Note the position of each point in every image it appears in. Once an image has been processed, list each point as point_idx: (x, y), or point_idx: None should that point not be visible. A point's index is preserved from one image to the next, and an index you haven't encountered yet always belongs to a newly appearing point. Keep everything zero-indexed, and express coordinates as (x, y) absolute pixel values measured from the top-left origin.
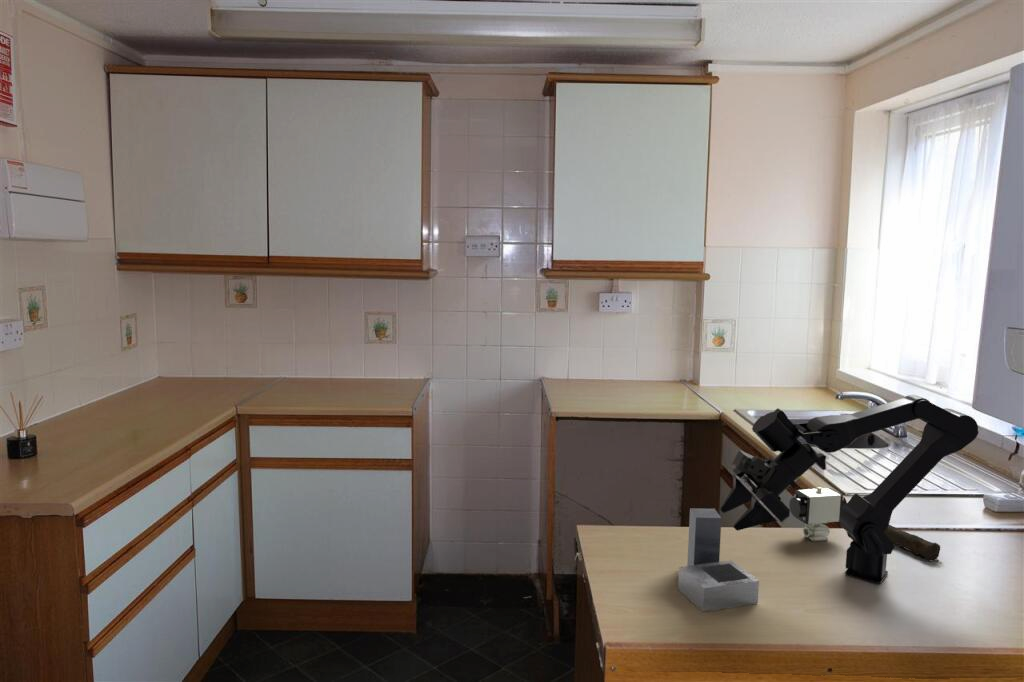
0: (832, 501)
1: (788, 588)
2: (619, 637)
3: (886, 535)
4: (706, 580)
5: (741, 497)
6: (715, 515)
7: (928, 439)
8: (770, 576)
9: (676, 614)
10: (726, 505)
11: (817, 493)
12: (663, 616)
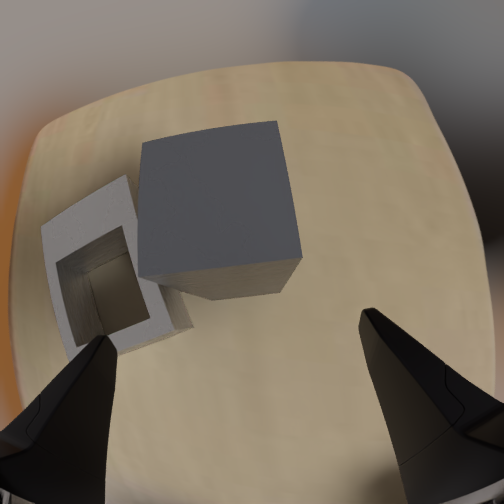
0: None
1: (185, 451)
2: (42, 133)
3: None
4: (63, 235)
5: (415, 450)
6: (174, 245)
7: None
8: (244, 433)
9: (69, 195)
10: (375, 346)
11: None
12: (67, 176)
